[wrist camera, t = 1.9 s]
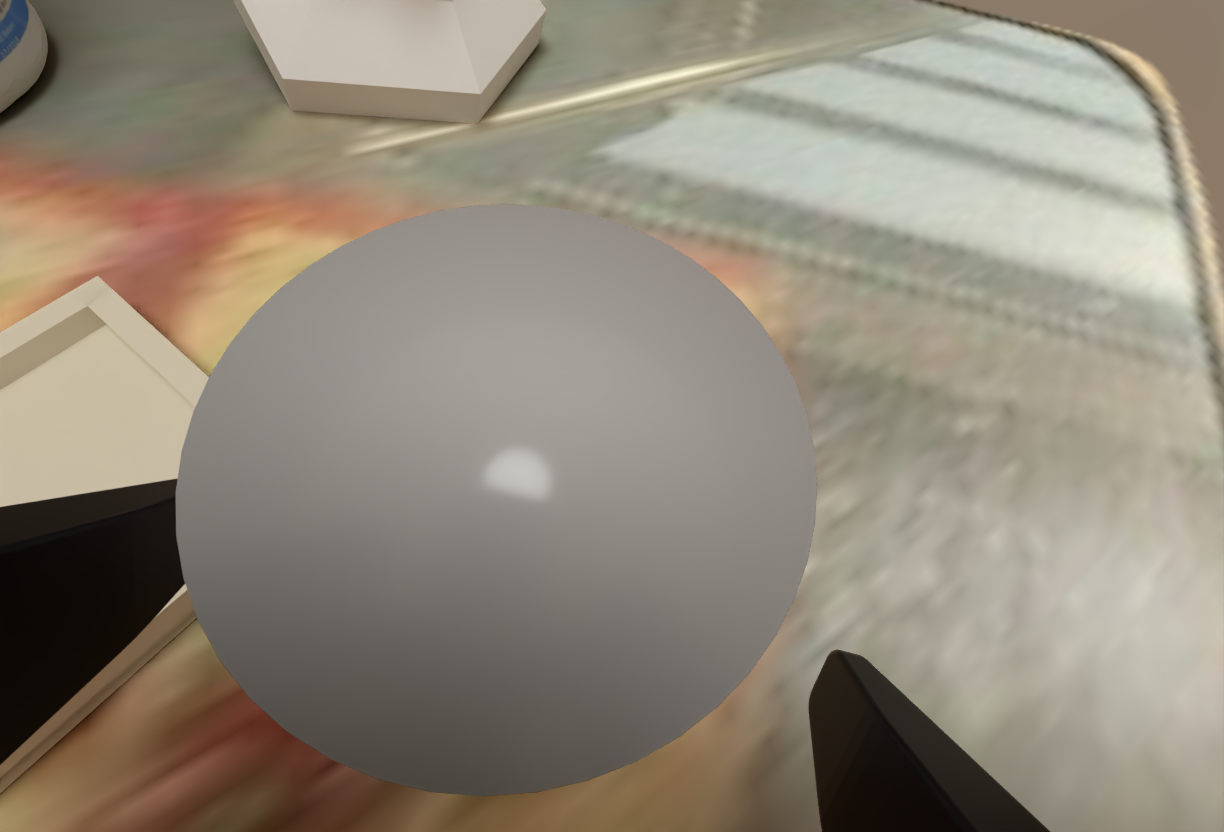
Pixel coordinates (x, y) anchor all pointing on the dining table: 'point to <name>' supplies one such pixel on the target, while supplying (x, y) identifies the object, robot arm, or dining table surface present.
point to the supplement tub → (20, 49)
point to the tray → (92, 444)
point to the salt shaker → (496, 499)
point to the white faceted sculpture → (394, 53)
